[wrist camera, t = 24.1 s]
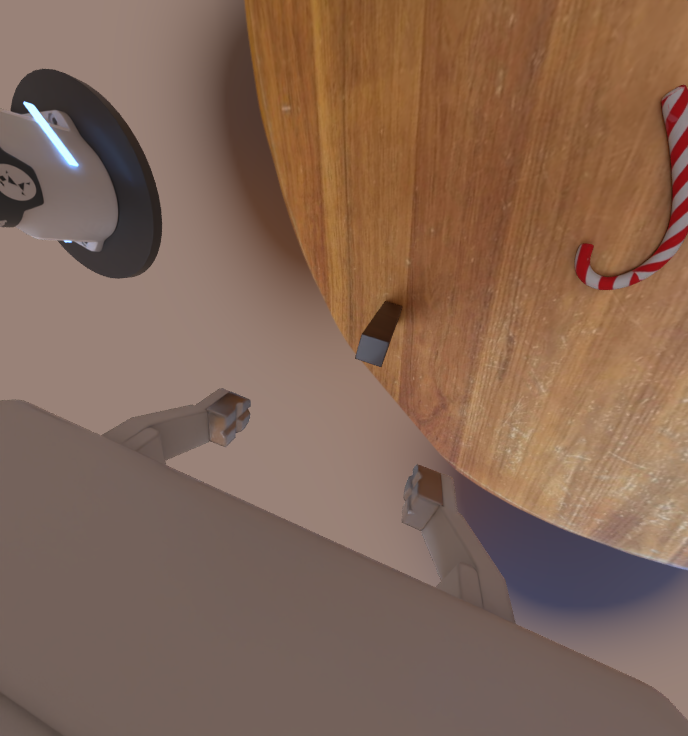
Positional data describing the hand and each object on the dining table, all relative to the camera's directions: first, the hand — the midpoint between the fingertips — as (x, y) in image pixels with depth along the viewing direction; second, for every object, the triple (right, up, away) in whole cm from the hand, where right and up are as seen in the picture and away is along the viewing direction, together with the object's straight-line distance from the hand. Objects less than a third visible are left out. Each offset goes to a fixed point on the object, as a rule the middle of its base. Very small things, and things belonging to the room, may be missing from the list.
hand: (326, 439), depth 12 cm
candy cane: (+27, +18, +12) cm, 35 cm away
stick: (+7, +11, +22) cm, 25 cm away
